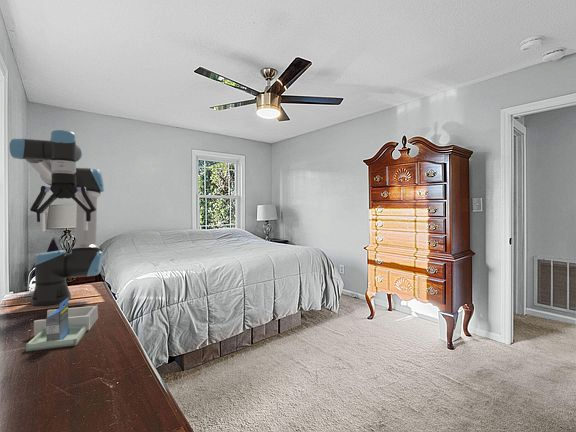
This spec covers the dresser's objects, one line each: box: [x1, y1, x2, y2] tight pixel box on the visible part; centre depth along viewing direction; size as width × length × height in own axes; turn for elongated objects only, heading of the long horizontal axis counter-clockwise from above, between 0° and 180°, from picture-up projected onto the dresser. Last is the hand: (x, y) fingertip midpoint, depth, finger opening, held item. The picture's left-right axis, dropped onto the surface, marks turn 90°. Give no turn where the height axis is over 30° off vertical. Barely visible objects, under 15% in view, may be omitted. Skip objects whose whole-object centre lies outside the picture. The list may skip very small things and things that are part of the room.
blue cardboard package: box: [45, 298, 69, 341], centre depth 106 cm, size 9×4×12 cm, turn 19°
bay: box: [33, 305, 99, 337], centre depth 118 cm, size 13×16×5 cm
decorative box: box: [46, 236, 63, 252], centre depth 173 cm, size 8×16×28 cm, turn 32°
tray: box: [25, 325, 88, 352], centre depth 106 cm, size 13×13×2 cm
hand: (64, 230), depth 121 cm, fingers open, 13 cm apart
